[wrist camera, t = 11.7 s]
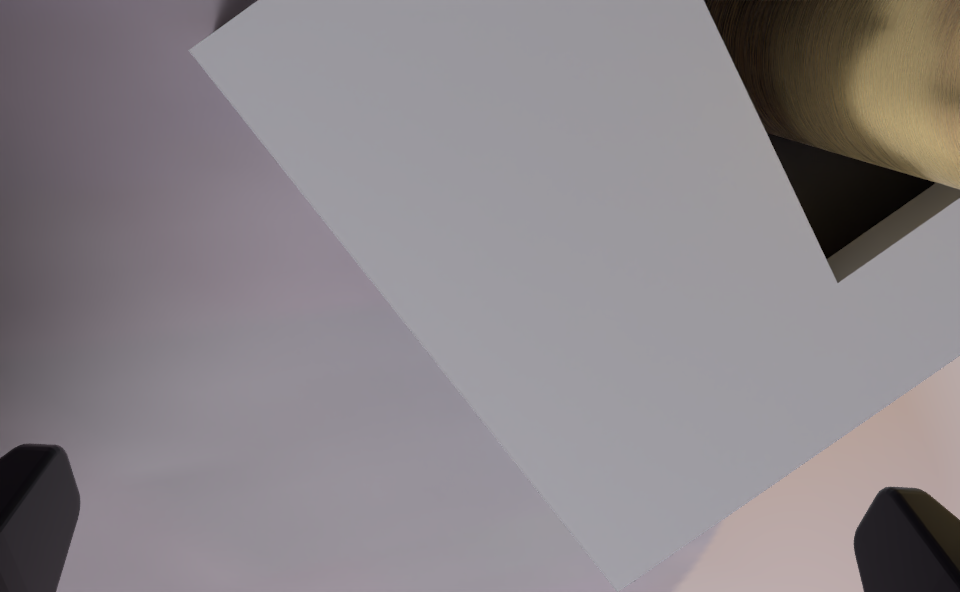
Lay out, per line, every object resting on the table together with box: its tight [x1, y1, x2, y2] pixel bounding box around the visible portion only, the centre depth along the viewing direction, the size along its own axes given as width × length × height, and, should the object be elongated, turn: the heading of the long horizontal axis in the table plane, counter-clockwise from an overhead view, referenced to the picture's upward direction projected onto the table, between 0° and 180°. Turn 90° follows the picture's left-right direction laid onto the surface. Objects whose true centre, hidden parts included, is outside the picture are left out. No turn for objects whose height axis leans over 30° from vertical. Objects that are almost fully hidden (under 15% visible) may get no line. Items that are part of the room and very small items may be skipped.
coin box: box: [189, 0, 960, 592], centre depth 19 cm, size 20×16×4 cm
